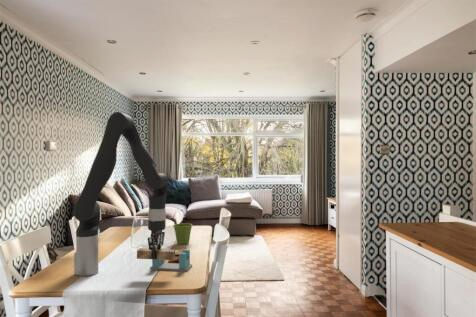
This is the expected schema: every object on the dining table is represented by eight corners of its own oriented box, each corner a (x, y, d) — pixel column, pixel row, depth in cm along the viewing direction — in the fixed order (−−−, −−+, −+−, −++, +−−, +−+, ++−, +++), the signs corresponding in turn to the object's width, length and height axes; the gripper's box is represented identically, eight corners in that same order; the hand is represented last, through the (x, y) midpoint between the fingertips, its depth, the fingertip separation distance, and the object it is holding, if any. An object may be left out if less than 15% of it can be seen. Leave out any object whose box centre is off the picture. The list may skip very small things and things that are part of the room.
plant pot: (194, 241, 225) (194, 223, 225) (190, 245, 213) (190, 226, 213) (176, 240, 226) (175, 222, 226) (170, 245, 215) (170, 226, 215)
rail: (136, 258, 158) (136, 250, 158) (139, 256, 161) (139, 248, 161) (172, 260, 157) (173, 251, 157) (174, 257, 160) (175, 249, 160)
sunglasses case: (171, 254, 195) (178, 243, 195) (183, 260, 195) (189, 250, 195) (166, 264, 177) (173, 252, 177) (178, 271, 177) (185, 259, 177)
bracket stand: (149, 269, 168) (149, 252, 168) (156, 264, 176) (156, 248, 176) (187, 271, 166) (186, 254, 166) (192, 266, 173) (192, 249, 173)
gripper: (155, 215, 167) (154, 252, 167) (141, 220, 153) (141, 261, 153) (170, 216, 165) (169, 254, 165) (158, 221, 151) (157, 262, 151)
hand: (156, 257), depth 159 cm, fingers closed on rail, 4 cm apart
